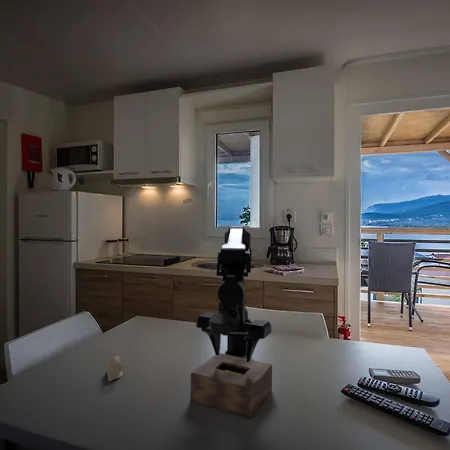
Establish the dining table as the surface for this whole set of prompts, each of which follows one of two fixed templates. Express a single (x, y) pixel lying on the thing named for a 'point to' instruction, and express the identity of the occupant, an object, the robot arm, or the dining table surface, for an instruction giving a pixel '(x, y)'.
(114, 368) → the decorative ornament
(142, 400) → the dining table surface
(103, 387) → the dining table surface
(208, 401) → the walnut box
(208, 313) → the robot arm
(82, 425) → the dining table surface
